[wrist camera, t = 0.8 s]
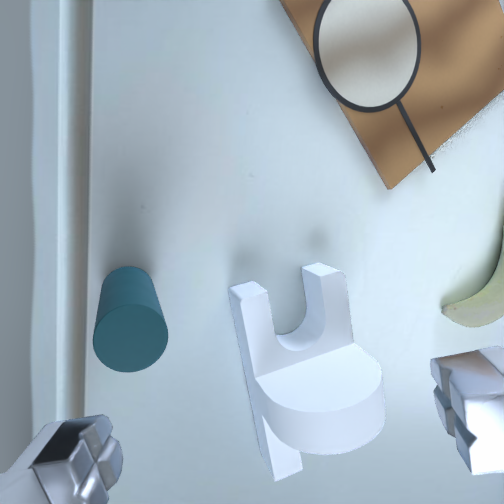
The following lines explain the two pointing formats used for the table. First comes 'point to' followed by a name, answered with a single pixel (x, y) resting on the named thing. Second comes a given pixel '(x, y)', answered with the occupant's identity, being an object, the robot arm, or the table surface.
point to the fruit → (481, 301)
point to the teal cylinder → (129, 322)
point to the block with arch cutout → (307, 374)
